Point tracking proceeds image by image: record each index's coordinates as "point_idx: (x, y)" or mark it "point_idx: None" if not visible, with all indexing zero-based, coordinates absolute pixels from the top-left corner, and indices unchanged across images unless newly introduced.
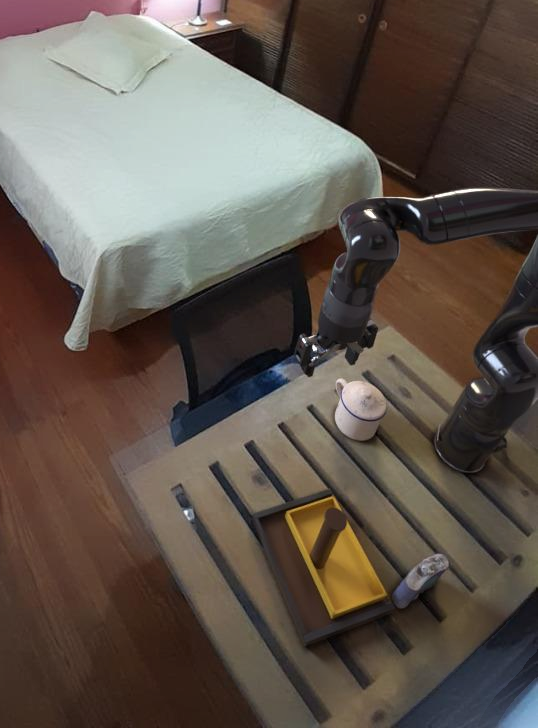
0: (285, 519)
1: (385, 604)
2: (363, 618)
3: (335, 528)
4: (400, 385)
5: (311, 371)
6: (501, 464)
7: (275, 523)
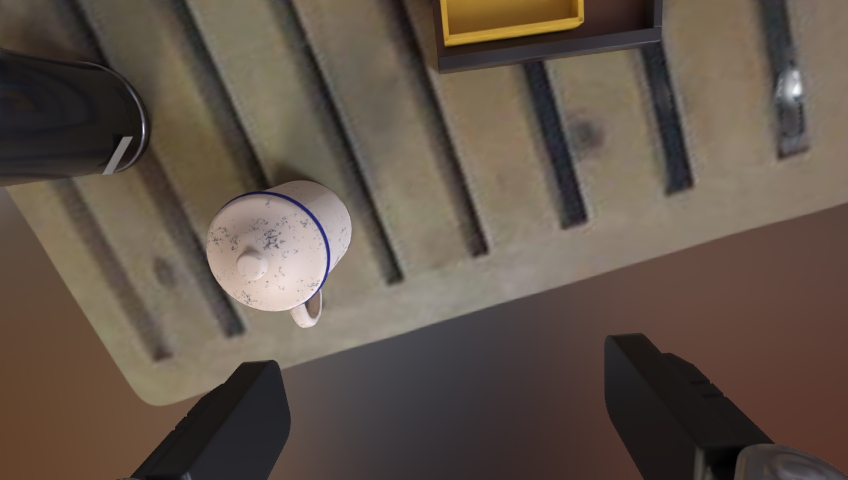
0: None
1: None
2: None
3: None
4: (167, 289)
5: (671, 377)
6: None
7: (601, 19)
